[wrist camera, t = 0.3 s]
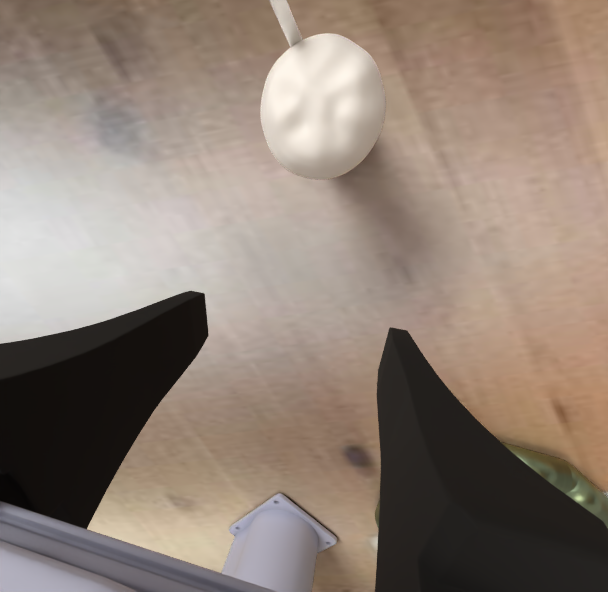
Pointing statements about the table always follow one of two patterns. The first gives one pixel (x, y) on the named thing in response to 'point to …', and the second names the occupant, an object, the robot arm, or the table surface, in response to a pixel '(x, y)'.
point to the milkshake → (321, 102)
